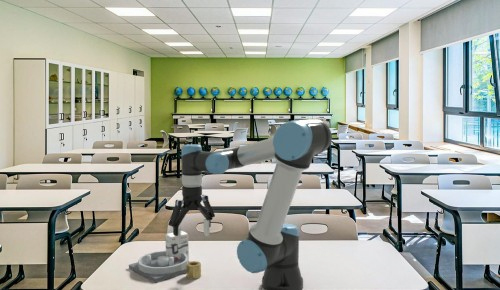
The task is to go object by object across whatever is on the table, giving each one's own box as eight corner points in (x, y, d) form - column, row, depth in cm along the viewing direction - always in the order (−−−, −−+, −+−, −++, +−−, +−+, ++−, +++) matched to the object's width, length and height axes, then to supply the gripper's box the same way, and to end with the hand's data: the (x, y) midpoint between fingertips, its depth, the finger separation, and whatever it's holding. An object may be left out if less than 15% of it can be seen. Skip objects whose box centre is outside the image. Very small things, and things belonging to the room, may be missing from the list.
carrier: (198, 268, 187) (198, 254, 186) (155, 282, 173) (155, 267, 173) (170, 256, 201) (170, 242, 201) (128, 268, 188) (128, 254, 187)
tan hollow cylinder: (203, 276, 179) (203, 263, 179) (192, 280, 176) (192, 267, 175) (195, 272, 183) (194, 260, 183) (183, 276, 179) (183, 263, 179)
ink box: (170, 264, 191) (169, 236, 190) (165, 261, 195) (165, 233, 194) (189, 260, 196) (188, 233, 194) (184, 257, 200) (183, 230, 199)
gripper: (211, 179, 187) (211, 230, 189) (158, 188, 170) (159, 244, 172) (223, 182, 181) (223, 234, 184) (169, 191, 164) (170, 249, 167)
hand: (192, 239), depth 178 cm, fingers open, 13 cm apart
